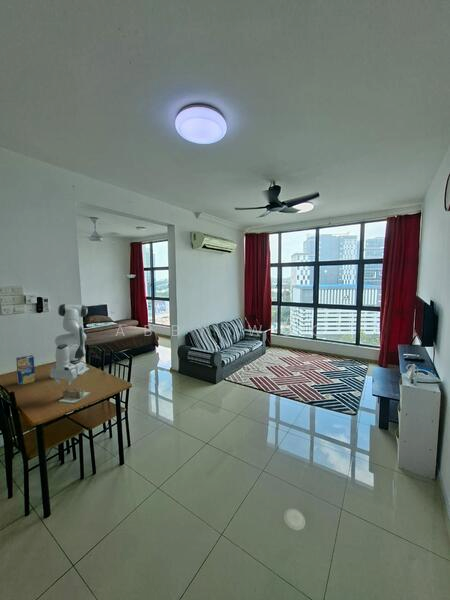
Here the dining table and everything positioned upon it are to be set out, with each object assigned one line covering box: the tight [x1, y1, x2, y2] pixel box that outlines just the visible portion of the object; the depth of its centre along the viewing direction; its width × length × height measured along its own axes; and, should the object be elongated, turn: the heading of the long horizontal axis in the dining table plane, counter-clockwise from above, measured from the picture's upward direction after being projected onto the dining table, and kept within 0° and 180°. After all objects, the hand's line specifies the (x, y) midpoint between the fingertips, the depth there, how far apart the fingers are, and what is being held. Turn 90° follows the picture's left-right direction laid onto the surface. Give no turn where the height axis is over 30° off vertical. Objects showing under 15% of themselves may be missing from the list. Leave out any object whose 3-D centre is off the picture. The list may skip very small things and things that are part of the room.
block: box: [62, 387, 85, 399], centre depth 183 cm, size 5×5×14 cm
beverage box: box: [16, 354, 36, 386], centre depth 208 cm, size 7×11×22 cm, turn 136°
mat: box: [57, 391, 92, 404], centre depth 184 cm, size 16×14×1 cm
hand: (63, 384), depth 184 cm, fingers open, 8 cm apart
